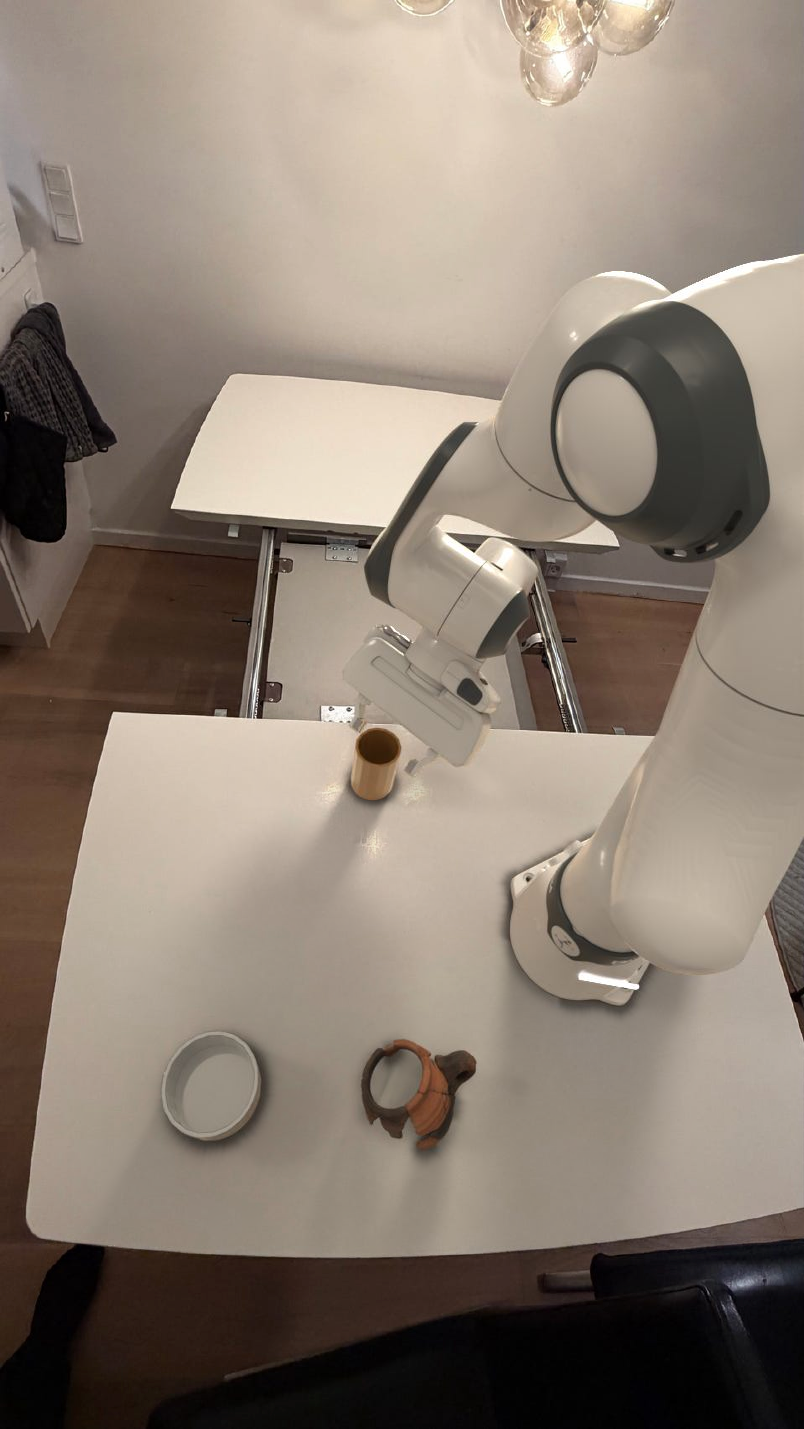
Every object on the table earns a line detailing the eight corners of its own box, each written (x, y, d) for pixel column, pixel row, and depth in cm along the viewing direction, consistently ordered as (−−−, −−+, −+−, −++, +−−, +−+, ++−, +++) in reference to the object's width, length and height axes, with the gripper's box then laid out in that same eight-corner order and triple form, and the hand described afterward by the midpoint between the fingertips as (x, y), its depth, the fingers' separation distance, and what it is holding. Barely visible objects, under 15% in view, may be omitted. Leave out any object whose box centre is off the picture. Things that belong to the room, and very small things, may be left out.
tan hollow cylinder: (375, 756, 93) (382, 720, 85) (401, 786, 91) (410, 751, 83) (342, 777, 90) (346, 741, 83) (368, 808, 88) (374, 774, 81)
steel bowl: (232, 1023, 72) (226, 1011, 66) (277, 1097, 68) (276, 1090, 63) (155, 1081, 68) (143, 1073, 62) (200, 1162, 64) (191, 1161, 59)
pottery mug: (402, 1178, 66) (374, 1148, 61) (367, 1092, 74) (339, 1059, 69) (503, 1107, 68) (483, 1072, 63) (458, 1030, 76) (438, 994, 71)
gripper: (368, 613, 83) (311, 704, 86) (500, 709, 77) (434, 803, 80) (387, 619, 89) (333, 704, 92) (511, 709, 83) (449, 796, 86)
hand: (381, 751), depth 86 cm, fingers open, 8 cm apart
